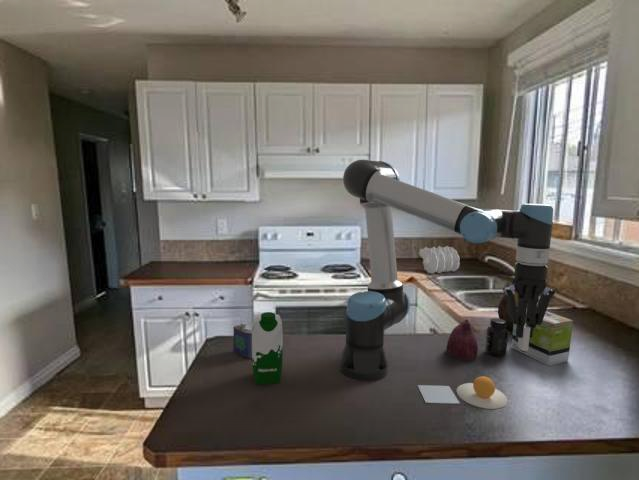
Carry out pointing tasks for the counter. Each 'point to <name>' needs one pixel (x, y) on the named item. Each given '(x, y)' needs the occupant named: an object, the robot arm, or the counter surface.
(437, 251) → the white ribbed cylinder
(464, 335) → the vegetable
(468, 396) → the disc
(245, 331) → the flask
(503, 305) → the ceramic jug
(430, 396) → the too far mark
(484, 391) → the ball
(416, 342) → the counter surface
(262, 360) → the milk carton
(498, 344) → the supplement bottle
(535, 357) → the tea box
